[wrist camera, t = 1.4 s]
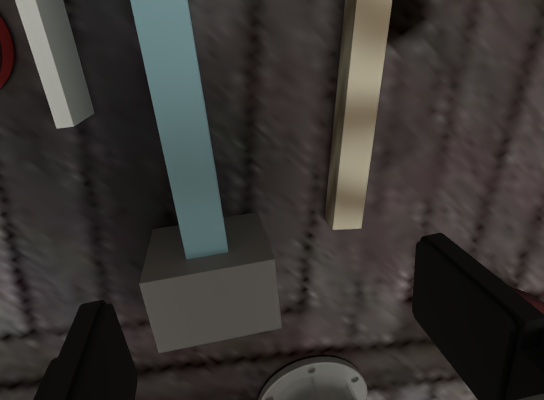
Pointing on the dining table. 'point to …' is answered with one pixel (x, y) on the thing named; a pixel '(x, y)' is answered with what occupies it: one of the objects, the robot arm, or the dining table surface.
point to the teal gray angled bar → (196, 207)
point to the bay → (56, 60)
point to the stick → (356, 109)
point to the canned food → (5, 53)
